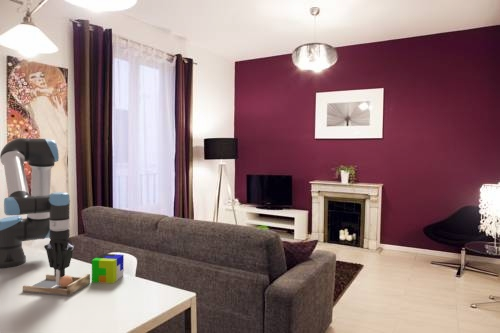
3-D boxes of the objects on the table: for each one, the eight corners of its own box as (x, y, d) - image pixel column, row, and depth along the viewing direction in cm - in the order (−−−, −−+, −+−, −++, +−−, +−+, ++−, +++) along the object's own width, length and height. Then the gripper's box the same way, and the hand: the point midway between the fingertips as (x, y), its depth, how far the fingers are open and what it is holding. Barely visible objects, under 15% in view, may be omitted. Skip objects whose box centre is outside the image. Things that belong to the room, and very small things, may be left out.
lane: (47, 279, 159) (47, 278, 159) (89, 283, 156) (89, 282, 156) (22, 291, 145) (22, 290, 145) (69, 296, 142) (69, 294, 142)
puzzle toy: (123, 275, 166) (123, 254, 166) (113, 283, 156) (113, 261, 156) (103, 274, 167) (103, 253, 167) (91, 282, 157) (91, 260, 157)
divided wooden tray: (47, 278, 159) (47, 270, 158) (89, 282, 156) (89, 274, 155) (22, 290, 145) (22, 281, 145) (69, 294, 142) (69, 286, 142)
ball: (77, 280, 151) (69, 286, 152) (69, 271, 151) (61, 277, 152) (70, 285, 146) (61, 292, 147) (62, 276, 146) (54, 282, 147)
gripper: (39, 230, 146) (39, 285, 147) (67, 232, 144) (67, 288, 145) (51, 226, 154) (51, 279, 155) (79, 228, 152) (79, 281, 153)
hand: (59, 283), depth 150 cm, fingers closed
